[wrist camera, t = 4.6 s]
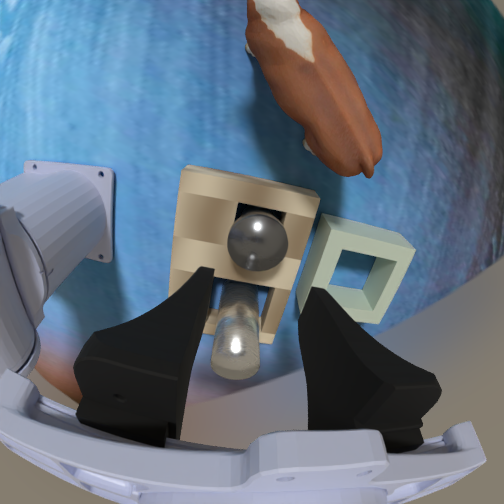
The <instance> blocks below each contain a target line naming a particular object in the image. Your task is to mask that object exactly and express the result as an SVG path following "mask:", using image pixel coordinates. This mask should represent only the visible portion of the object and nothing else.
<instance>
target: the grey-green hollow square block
mask: <svg viewBox="0 0 504 504" xmlns="http://www.w3.org/2000/svg"><path fill="white" fill-rule="evenodd" d="M342 249H344V250H349V251H353V252H358V253H362V254H367V255H371V256H376V260H375V262H374V264H373V267H372V269H371V271H370V274H369V276H368V278H367V280H366V282H365V285H364V287H363V289H362V290H360V289H354V288H348V287H342V286H336V285H330V284H329V282H330V279H331V277H332V274H333V272H334V269H335V267H336V264H337V262H338V259H339V256H340V254H341V251H342ZM415 251H416V250H415V249H414V247H413V246H412V245H411V244H410V243H409V242H408V241H407V240H406V239H405V238H404V237H403V236H402V235H401V234H400V233H397V232H394V231H390V230H386V229H383V228H379V227H375V226H371V225H368V224H364V223H360V222H356V221H352V220H348V219H344V218H340V217H336V216H332V215H328V214H324V213H322V214H321V217H320V220H319V223H318V226H317V229H316V233H315V236H314V239H313V242H312V245H311V248H310V251H309V254H308V257H307V260H306V263H305V266H304V269H303V272H302V274H301V277H300V280H299V283H298V286H297V289H296V295H297V300H298V305H299V310H300V314H301V312H302V309H303V307H304V304H305V302H306V299H307V297H308V294H309V291H310V289H311V286H313V287H319V288H324V289H325V290H326V291H327V292H328V293H329V294H330V295H331V296H332V297H333V298H334V299H335V300H336V301H337V302H338V303H339V305H340V306H341V307H342V308H343V309H344V310H345V311H346V312H347V313H348V314H349V315H350V317H351V318H352V319H353V320H354V321H357V322H365V323H374V324H379V323H380V321H381V319H382V317H383V315H384V314H385V312H386V310H387V308H388V306H389V304H390V303H391V301H392V299H393V297H394V295H395V293H396V291H397V289H398V287H399V285H400V283H401V281H402V279H403V277H404V275H405V273H406V271H407V269H408V266H409V264H410V262H411V260H412V258H413V256H414V253H415Z"/></svg>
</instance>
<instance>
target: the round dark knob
mask: <svg viewBox="0 0 504 504" xmlns="http://www.w3.org/2000/svg"><path fill="white" fill-rule="evenodd" d="M227 248H228V252H229V255H230V257H231V258H232V260H233V261H234V262H235V263H236V264H237V265H238V266H240V267H242V268H244V269H246V270H249V271H256V272H259V271H266V270H269V269H271V268H274V267H275V266H277V265H278V264H279V263H280V262H281V261H282V260H283V259H284V257H285V255H286V253H287V250H288V238H287V234H286V230H285V228H284V226H283V224H282V223H281V222H280V221H279V220H278V219H277V218H276V217H274V216H273V214H272V212H271V210H270V209H269V208H264V207H259V206H254V205H250V206H248V207H247V208H245V209H244V210H243V212H242V214H241V217H239V218H238V219H237V220H236V221H235V222H234V223H233V225H232V226H231V228H230V231H229V234H228V240H227Z"/></svg>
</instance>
